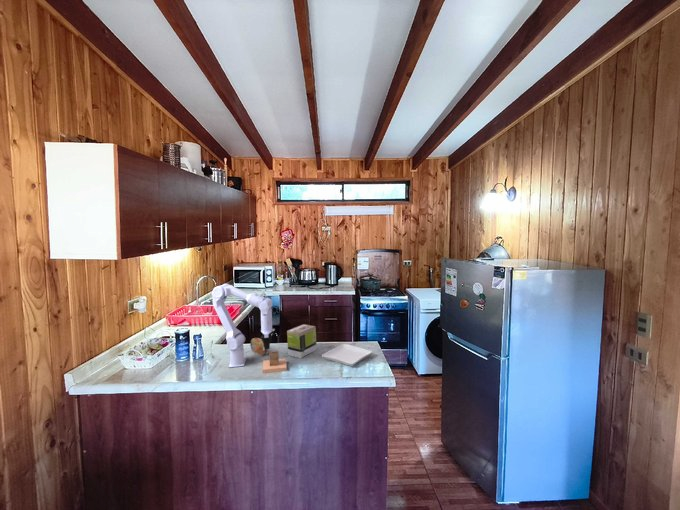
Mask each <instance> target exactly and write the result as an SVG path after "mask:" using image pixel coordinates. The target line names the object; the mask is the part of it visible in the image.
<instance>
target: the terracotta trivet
mask: <svg viewBox="0 0 680 510" xmlns="http://www.w3.org/2000/svg"><path fill="white" fill-rule="evenodd" d="M287 371H288V369H287V357H286V358H279V365H276V366H270V359H266V360H264V359H263V361H262V374H269V373H271V374H272V373H281V372H287Z"/></svg>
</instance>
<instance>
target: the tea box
mask: <svg viewBox="0 0 680 510" xmlns="http://www.w3.org/2000/svg"><path fill="white" fill-rule="evenodd" d="M316 329H317V327H316V326H315V325H309V324H301V325H297V326H296V327H292V328H291V329H288V330H287V331H286V336H287V355H288V356H290V357H291V356H292V357H294V356H295V358H297V359H301V358H303V357H305V356H307V355H309V354H311V353H313V352H315V351H317V349H318V348H317V347H318V346H317V344H318V343H317V332H316V331H317V330H316Z"/></svg>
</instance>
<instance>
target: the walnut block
mask: <svg viewBox="0 0 680 510" xmlns="http://www.w3.org/2000/svg"><path fill="white" fill-rule="evenodd" d="M268 358H269V359H268V360H270V366H276V365H279V359H280V356H279V350H273V351H269V356H268Z"/></svg>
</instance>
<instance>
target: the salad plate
mask: <svg viewBox="0 0 680 510" xmlns="http://www.w3.org/2000/svg"><path fill="white" fill-rule="evenodd" d="M372 353H373V351H372V350H369V349H366V348H362V347H359V346H355V345H351V344H347V343H346V344H345V343H341V344H340V345H338V346H336V347H334V348H332V349H329V351H326V352H324V353H322V354H321V356H322V358H323V359H326V360H328V361H333V362H335V363H338V362H339V364H342V365H345V366H349V367H352V366H354V365H355V364H357V363H359V362H360V361H362V360H363V359H366V358H367V357H369V356H370V355H372Z"/></svg>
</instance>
